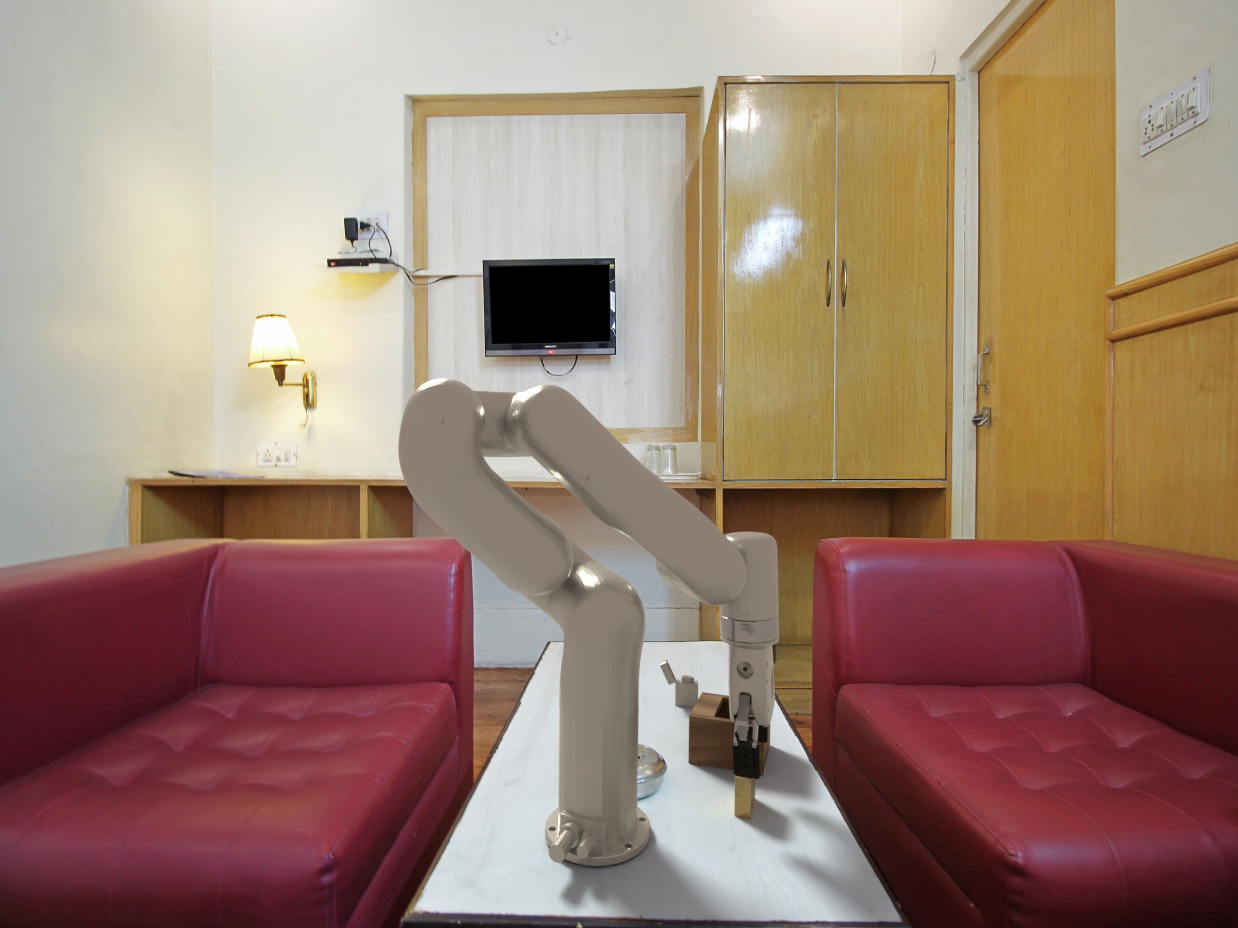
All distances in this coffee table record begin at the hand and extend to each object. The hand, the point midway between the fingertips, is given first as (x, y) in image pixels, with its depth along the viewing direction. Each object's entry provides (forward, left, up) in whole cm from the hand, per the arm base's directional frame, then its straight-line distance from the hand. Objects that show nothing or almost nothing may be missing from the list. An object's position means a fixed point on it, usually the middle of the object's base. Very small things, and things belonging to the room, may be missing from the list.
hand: (751, 757), depth 81 cm
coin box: (+13, +5, -6) cm, 16 cm away
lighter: (+29, +17, -7) cm, 34 cm away
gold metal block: (-1, +1, -6) cm, 7 cm away
